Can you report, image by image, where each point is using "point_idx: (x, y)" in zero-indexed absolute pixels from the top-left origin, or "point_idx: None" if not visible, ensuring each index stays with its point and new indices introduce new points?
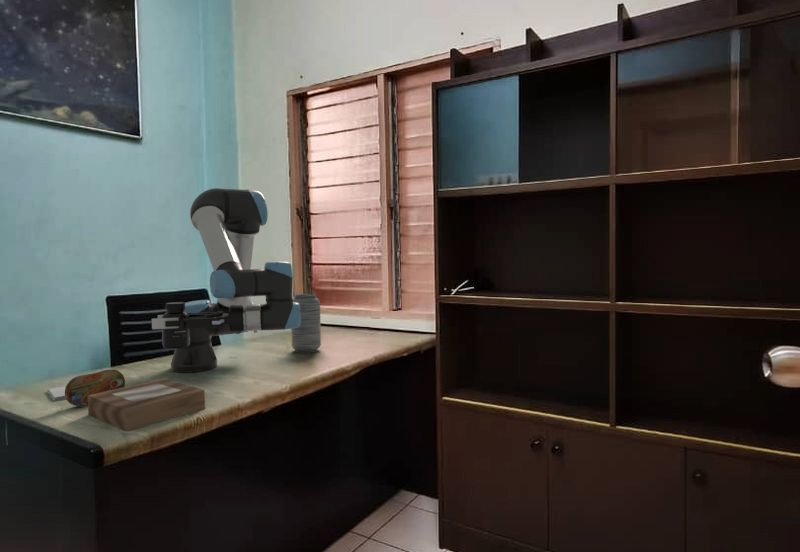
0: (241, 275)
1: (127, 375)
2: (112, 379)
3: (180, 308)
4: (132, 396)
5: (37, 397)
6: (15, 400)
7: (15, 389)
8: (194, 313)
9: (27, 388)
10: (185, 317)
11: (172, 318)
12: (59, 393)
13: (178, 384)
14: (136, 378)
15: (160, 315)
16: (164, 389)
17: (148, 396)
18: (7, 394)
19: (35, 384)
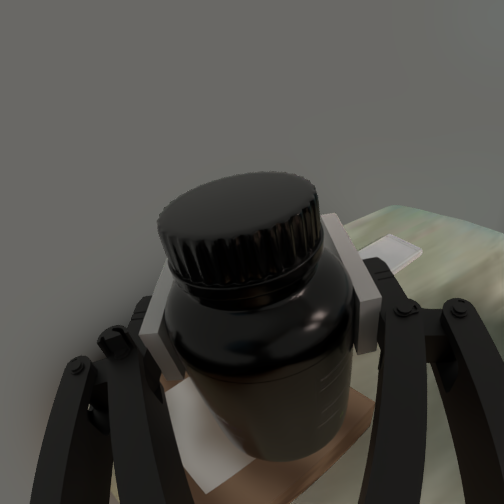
0: None
1: (501, 276)
2: None
3: (177, 276)
4: (191, 392)
5: (360, 240)
6: (346, 230)
7: (394, 209)
8: (459, 347)
9: (401, 215)
10: (194, 366)
11: (149, 308)
12: (363, 254)
13: (289, 471)
14: (491, 299)
15: (324, 222)
16: (233, 448)
17: (176, 425)
18: (372, 213)
19: (419, 212)
